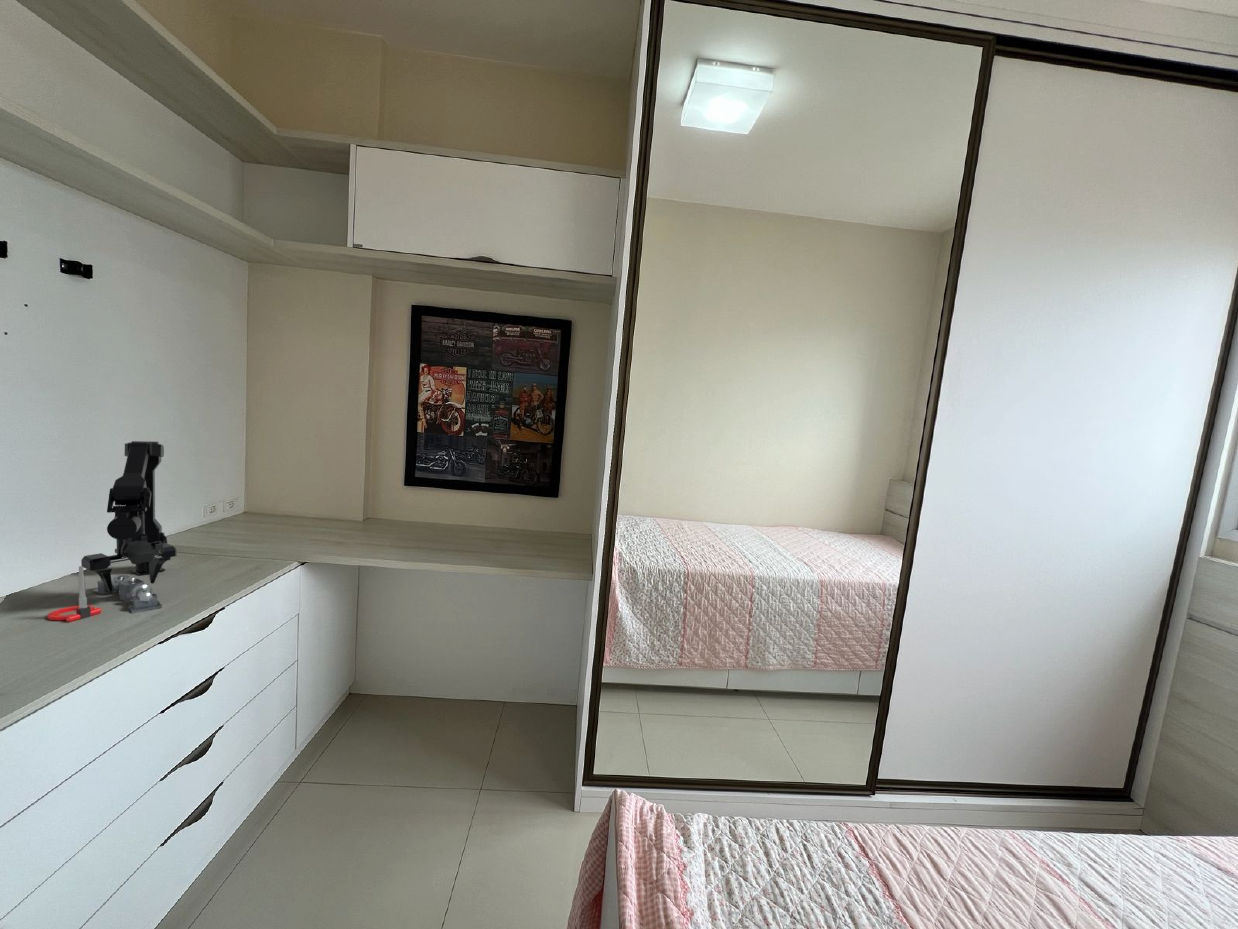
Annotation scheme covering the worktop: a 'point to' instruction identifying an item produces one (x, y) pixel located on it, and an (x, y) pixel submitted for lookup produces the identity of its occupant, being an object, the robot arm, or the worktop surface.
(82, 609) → the tow hook
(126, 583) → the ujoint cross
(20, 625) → the worktop surface
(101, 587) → the shaft left
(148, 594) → the shaft right
